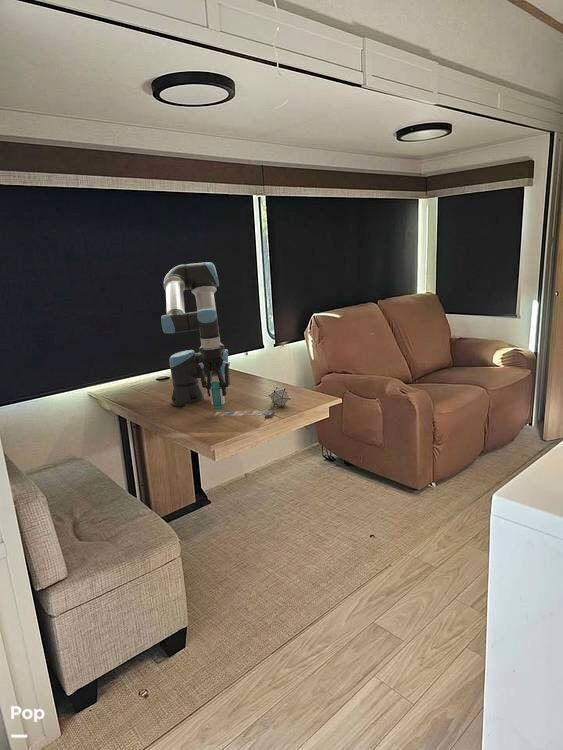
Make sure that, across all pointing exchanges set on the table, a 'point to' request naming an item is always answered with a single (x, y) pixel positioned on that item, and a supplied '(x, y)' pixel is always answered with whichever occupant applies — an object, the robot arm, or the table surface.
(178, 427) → the table surface
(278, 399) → the game die
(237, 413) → the board
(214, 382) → the pawn
